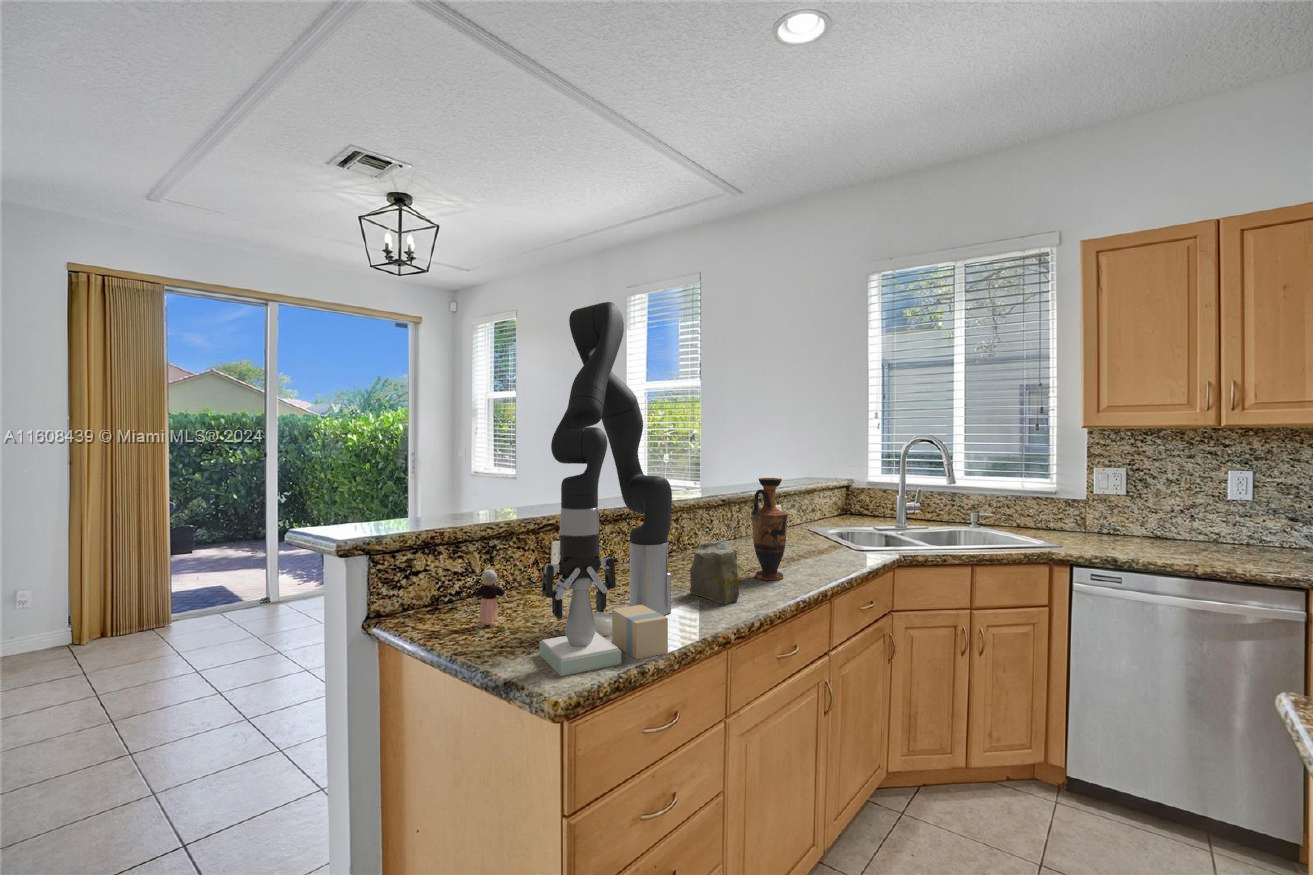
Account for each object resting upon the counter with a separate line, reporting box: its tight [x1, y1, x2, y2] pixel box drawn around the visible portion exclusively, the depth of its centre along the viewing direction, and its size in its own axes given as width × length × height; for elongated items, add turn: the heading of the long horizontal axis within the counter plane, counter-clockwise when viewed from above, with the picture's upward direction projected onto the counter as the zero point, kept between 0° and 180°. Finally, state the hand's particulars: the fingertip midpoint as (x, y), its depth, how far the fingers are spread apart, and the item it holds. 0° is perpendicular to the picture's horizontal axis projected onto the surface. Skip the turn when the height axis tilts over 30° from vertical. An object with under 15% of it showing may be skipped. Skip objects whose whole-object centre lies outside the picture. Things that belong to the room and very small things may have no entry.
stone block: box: [689, 538, 740, 605], centre depth 163 cm, size 10×15×15 cm
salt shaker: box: [564, 578, 595, 647], centre depth 118 cm, size 6×6×13 cm
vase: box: [750, 477, 789, 581], centre depth 184 cm, size 11×11×30 cm
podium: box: [539, 631, 622, 677], centre depth 118 cm, size 12×12×3 cm
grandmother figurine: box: [471, 569, 508, 629], centre depth 138 cm, size 8×4×13 cm, turn 112°
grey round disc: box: [592, 612, 612, 637], centre depth 134 cm, size 6×6×3 cm
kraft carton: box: [611, 605, 669, 661], centre depth 124 cm, size 7×11×7 cm, turn 29°
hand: (579, 614), depth 118 cm, fingers open, 8 cm apart
